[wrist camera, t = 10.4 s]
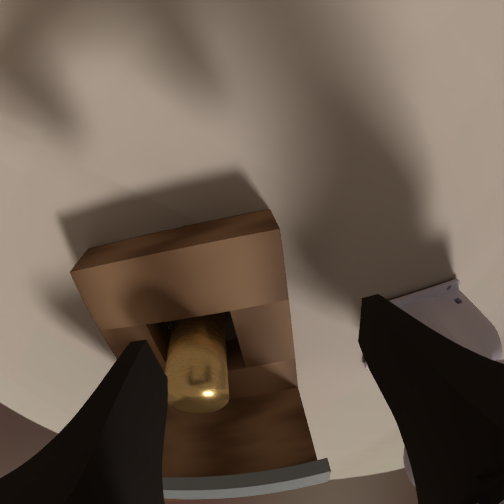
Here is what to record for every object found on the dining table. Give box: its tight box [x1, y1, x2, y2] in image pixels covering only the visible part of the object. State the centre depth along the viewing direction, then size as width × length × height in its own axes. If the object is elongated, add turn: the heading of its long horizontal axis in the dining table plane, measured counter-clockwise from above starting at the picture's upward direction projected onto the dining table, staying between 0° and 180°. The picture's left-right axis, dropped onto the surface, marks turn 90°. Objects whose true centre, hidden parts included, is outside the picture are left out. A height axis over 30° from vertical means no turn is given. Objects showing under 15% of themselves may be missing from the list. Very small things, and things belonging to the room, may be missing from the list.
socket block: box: [70, 210, 331, 499], centre depth 15 cm, size 13×15×11 cm
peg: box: [165, 312, 229, 414], centre depth 17 cm, size 4×4×7 cm
